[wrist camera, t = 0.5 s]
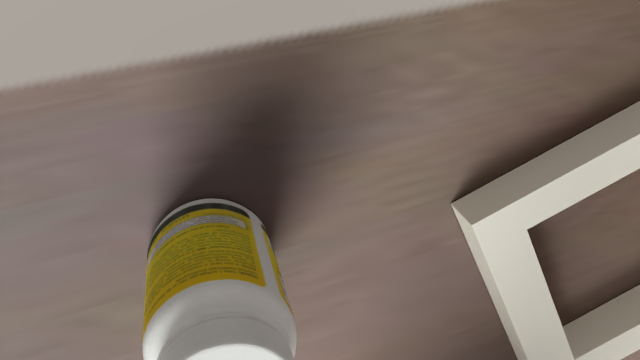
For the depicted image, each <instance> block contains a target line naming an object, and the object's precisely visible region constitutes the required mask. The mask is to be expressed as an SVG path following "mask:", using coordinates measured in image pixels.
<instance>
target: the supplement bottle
mask: <svg viewBox="0 0 640 360" xmlns="http://www.w3.org/2000/svg"><path fill="white" fill-rule="evenodd" d="M142 343H143V345H142V347H143V358H144V360H294V355H295V352H296V346H297V331H296V325H295V320H294V316H293V313H292V310H291V307H290V304H289V300H288V297H287V294H286V290H285V287H284V283H283V280H282V277H281V274H280V270H279V267H278V264H277V260H276V257H275V254H274V251H273V248H272V244H271V241H270V238H269V235H268V233H267V230H266V228H265V227H264V225H263V223H262V222H261V221H260V220H259V218H258V217H257V216H256V215H255V214H254V213H252V212H251V211H250V210H248V209H246V208H245V207H243V206H241V205H239V204H237V203H234V202H231V201H228V200H223V199H214V198H209V199H201V200H195V201H192V202H189V203H186V204H184V205H182V206H180V207H178V208H177V209H175V210H173V211H172V212H171V213H169V214H168V215H167V216H166V217H165V218H164V219H163V220H162V221H161V222H160V224H159V225H158V226H157V228H156V230H155V231H154V233H153V235H152V238H151V241H150V244H149V248H148V254H147V274H146V294H145V311H144V327H143V341H142Z"/></svg>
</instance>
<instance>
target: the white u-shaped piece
mask: <svg viewBox="0 0 640 360" xmlns="http://www.w3.org/2000/svg"><path fill="white" fill-rule="evenodd" d="M639 168H640V101H639V102H637V103H635V104H633V105H631V106H629V107H628V108H626V109H624V110H622V111H620V112H618V113H617V114H615V115H613V116H611V117H609V118H607V119H606V120H604V121H602V122H600V123H598V124H596V125H595V126H593V127H591V128H589V129H587V130H585V131H584V132H582V133H580V134H578V135H576V136H574V137H572V138H571V139H569V140H567V141H565V142H563V143H561V144H560V145H558V146H556V147H554V148H552V149H550V150H549V151H547V152H545V153H543V154H541V155H539V156H538V157H536V158H534V159H532V160H530V161H528V162H527V163H525V164H523V165H521V166H519V167H517V168H516V169H514V170H512V171H510V172H508V173H506V174H504V175H503V176H501V177H499V178H497V179H495V180H493V181H492V182H490V183H488V184H486V185H484V186H482V187H481V188H479V189H477V190H475V191H473V192H471V193H470V194H468V195H466V196H464V197H462V198H460V199H459V200H457V201H455V202H453V203H451V205H452V208H453V210H454V212H455V215H456V217H457V219H458V222H459V224H460V226H461V229H462V231H463V233H464V236H465V238H466V240H467V243H468V245H469V247H470V250H471V252H472V254H473V257H474V259H475V261H476V263H477V266H478V268H479V270H480V273H481V275H482V277H483V280H484V282H485V284H486V287H487V289H488V291H489V294H490V296H491V298H492V301H493V303H494V305H495V308H496V310H497V312H498V315H499V317H500V319H501V322H502V324H503V326H504V329H505V331H506V333H507V336H508V338H509V340H510V343H511V345H512V347H513V350H514V352H515V354H516V357H517V359H518V360H621V359H623V358H624V357H626V356H628V355H630V354H632V353H634V352H635V351H637V350H639V349H640V285H638V286H636V287H634V288H632V289H631V290H629V291H627V292H625V293H623V294H621V295H620V296H618V297H616V298H614V299H612V300H610V301H609V302H607V303H605V304H603V305H601V306H599V307H598V308H596V309H594V310H592V311H590V312H588V313H587V314H585V315H583V316H581V317H579V318H577V319H576V320H574V321H572V322H570V323H568V324H566V325H565V326H563V327H562V324H561V322H560V319H559V316H558V313H557V311H556V308H555V305H554V302H553V300H552V297H551V294H550V292H549V289H548V286H547V283H546V281H545V278H544V275H543V272H542V270H541V267H540V264H539V261H538V259H537V256H536V253H535V251H534V248H533V245H532V242H531V240H530V237H529V234H528V231H527V229H529V228H531V227H533V226H535V225H537V224H538V223H540V222H542V221H544V220H546V219H548V218H549V217H551V216H553V215H555V214H557V213H559V212H560V211H562V210H564V209H566V208H568V207H570V206H571V205H573V204H575V203H577V202H579V201H581V200H582V199H584V198H586V197H588V196H590V195H592V194H593V193H595V192H597V191H599V190H601V189H603V188H604V187H606V186H608V185H610V184H612V183H614V182H615V181H617V180H619V179H621V178H623V177H625V176H626V175H628V174H630V173H632V172H634V171H636V170H637V169H639Z"/></svg>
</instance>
